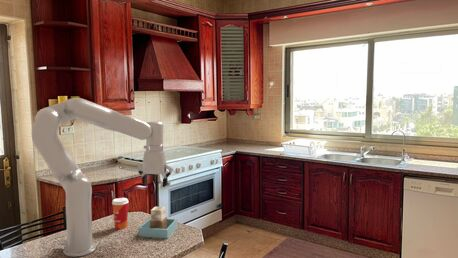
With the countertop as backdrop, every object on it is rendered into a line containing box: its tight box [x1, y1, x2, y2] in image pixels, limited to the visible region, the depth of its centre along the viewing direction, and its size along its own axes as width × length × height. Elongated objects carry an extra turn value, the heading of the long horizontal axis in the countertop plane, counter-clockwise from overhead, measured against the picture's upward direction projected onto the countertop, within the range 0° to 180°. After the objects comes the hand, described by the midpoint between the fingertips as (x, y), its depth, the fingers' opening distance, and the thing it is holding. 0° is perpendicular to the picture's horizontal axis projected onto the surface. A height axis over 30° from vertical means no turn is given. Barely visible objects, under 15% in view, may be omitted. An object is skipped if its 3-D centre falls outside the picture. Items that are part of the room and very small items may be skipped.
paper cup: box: [111, 197, 130, 230], centre depth 164 cm, size 8×8×14 cm
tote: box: [138, 217, 178, 239], centre depth 159 cm, size 14×14×4 cm
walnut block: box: [150, 216, 168, 229], centre depth 159 cm, size 6×6×6 cm
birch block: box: [150, 206, 166, 221], centre depth 158 cm, size 5×5×5 cm
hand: (154, 185), depth 157 cm, fingers open, 9 cm apart
